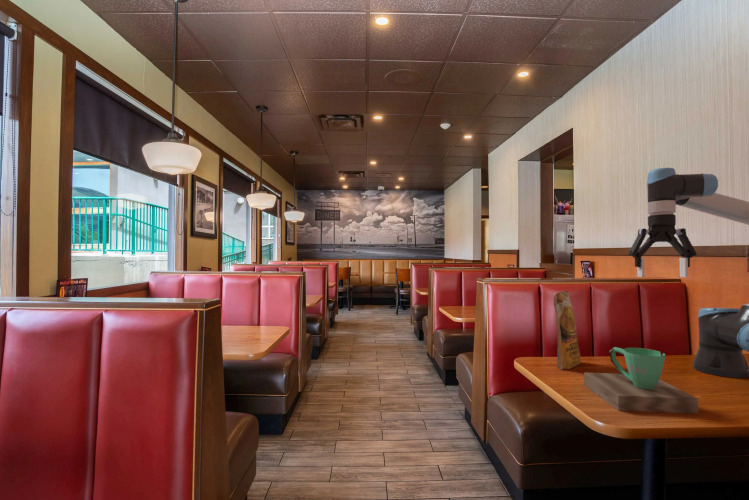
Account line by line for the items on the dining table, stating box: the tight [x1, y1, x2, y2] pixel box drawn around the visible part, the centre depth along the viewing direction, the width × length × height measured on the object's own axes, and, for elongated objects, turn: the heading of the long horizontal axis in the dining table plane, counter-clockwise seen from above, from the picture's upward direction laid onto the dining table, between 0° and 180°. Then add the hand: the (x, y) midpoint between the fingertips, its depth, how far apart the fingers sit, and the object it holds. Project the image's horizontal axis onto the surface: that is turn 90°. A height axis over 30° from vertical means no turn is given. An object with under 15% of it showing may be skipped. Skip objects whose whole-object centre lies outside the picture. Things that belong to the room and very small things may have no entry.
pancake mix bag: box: [553, 291, 582, 370], centre depth 143 cm, size 7×19×28 cm, turn 132°
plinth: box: [583, 372, 699, 415], centre depth 110 cm, size 20×20×4 cm
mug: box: [609, 346, 666, 390], centre depth 110 cm, size 15×10×10 cm
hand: (662, 277), depth 126 cm, fingers open, 13 cm apart
